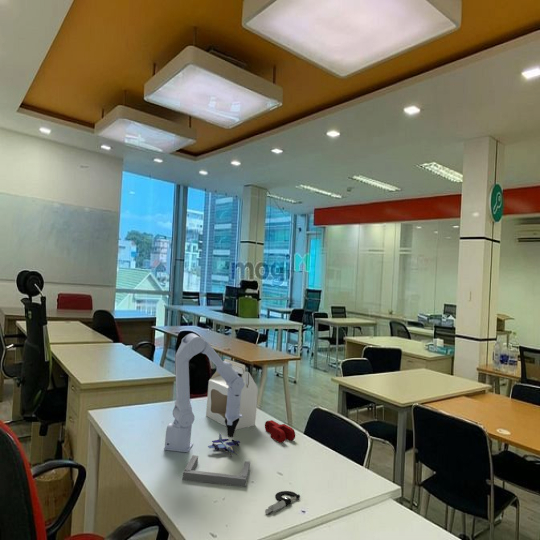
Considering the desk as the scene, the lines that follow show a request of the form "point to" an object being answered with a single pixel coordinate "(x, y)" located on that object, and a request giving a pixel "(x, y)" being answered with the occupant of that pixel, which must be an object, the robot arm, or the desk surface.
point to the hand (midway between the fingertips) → (230, 436)
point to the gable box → (219, 397)
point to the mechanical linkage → (279, 431)
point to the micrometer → (282, 501)
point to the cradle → (215, 475)
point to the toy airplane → (224, 444)
